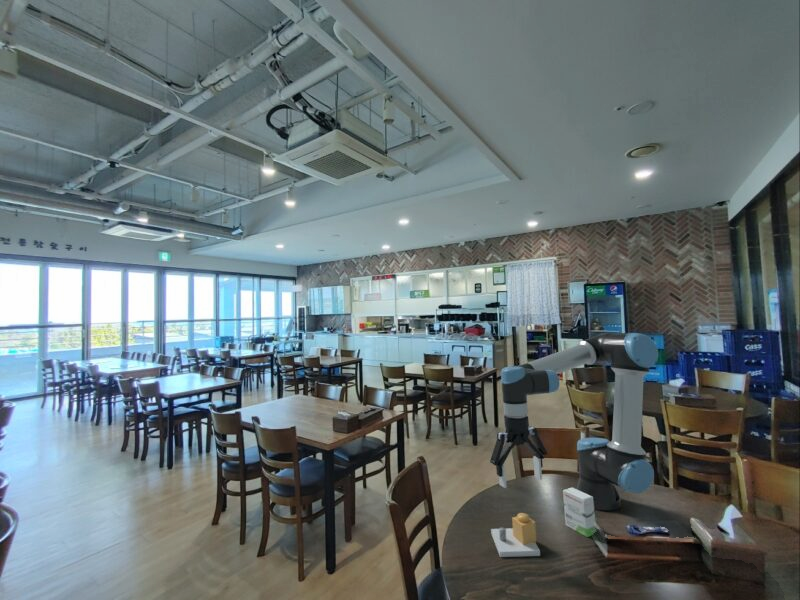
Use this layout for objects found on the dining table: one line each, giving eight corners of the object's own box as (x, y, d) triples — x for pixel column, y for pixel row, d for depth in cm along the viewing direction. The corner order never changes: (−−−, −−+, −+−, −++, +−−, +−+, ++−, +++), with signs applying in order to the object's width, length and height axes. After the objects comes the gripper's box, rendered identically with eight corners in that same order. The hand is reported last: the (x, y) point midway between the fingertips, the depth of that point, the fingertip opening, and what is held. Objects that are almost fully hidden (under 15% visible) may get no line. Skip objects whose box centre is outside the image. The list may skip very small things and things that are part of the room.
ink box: (597, 533, 117) (594, 496, 118) (587, 538, 115) (584, 500, 116) (574, 521, 125) (571, 486, 126) (564, 525, 123) (561, 489, 124)
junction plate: (527, 532, 120) (526, 517, 120) (540, 555, 108) (539, 539, 108) (491, 533, 120) (490, 519, 120) (500, 557, 108) (499, 540, 108)
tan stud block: (536, 541, 112) (534, 518, 113) (523, 545, 111) (521, 521, 111) (526, 532, 117) (524, 510, 118) (513, 536, 115) (511, 513, 116)
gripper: (539, 407, 124) (544, 470, 123) (476, 417, 116) (481, 484, 115) (555, 412, 117) (560, 479, 116) (489, 423, 109) (494, 495, 108)
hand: (521, 482), depth 115 cm, fingers open, 13 cm apart
